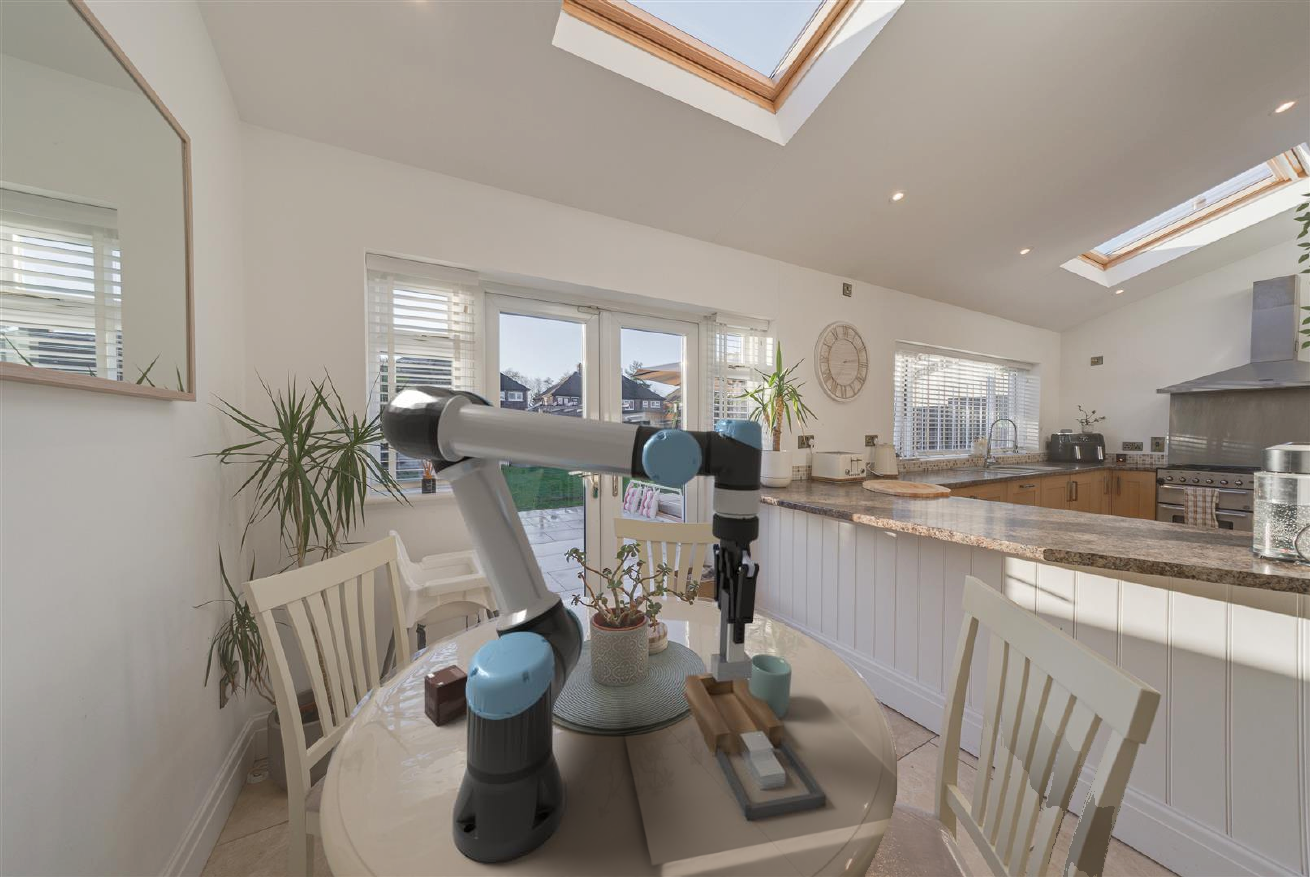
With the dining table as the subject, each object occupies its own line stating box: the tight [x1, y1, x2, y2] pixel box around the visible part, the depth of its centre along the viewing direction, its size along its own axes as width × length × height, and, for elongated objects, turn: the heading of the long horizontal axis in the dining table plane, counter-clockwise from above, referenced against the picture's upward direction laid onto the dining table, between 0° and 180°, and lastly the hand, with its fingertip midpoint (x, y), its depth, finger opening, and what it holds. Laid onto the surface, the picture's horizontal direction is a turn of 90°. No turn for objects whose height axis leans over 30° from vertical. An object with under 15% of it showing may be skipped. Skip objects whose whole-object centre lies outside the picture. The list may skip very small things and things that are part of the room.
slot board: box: [683, 672, 784, 757], centre depth 83 cm, size 13×18×5 cm
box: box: [423, 664, 468, 726], centre depth 86 cm, size 6×6×7 cm
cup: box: [748, 654, 792, 719], centre depth 87 cm, size 8×8×10 cm
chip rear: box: [740, 731, 775, 768], centre depth 73 cm, size 4×4×3 cm
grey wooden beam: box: [710, 588, 752, 682], centre depth 74 cm, size 6×3×14 cm, turn 104°
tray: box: [716, 738, 827, 822], centre depth 68 cm, size 12×12×3 cm
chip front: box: [748, 753, 786, 791], centre depth 69 cm, size 4×4×3 cm
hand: (730, 654), depth 74 cm, fingers closed on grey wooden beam, 3 cm apart
